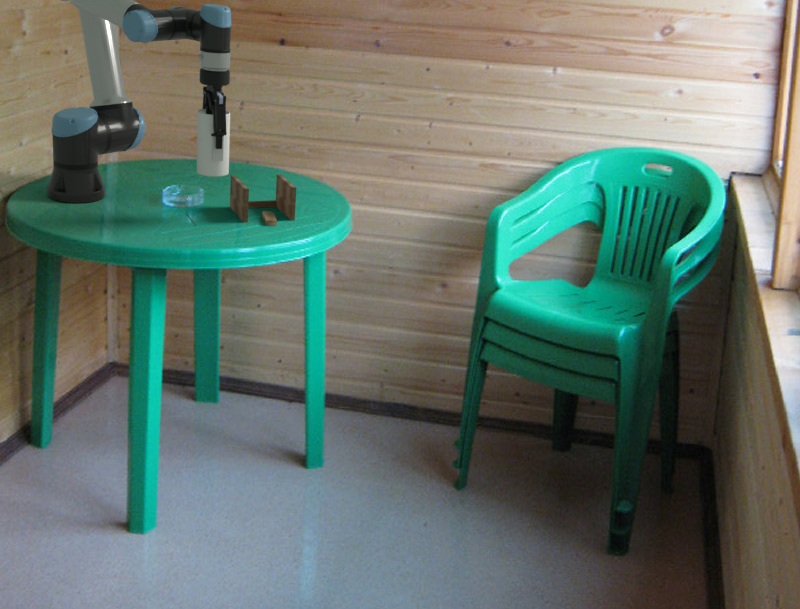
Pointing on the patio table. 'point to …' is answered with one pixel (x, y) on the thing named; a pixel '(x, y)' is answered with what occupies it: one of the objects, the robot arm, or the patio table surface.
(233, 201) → the rack
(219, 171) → the cup
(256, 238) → the patio table surface
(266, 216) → the offcut slab upper
